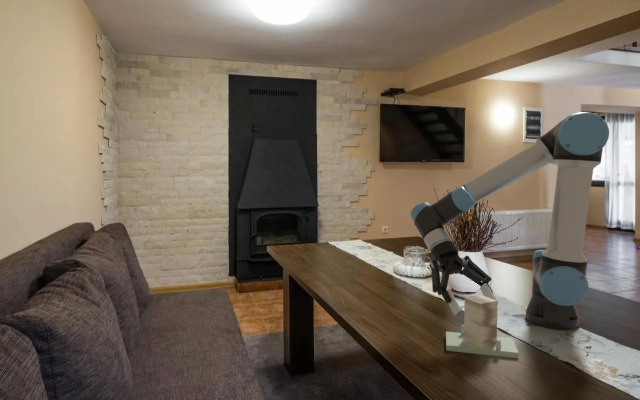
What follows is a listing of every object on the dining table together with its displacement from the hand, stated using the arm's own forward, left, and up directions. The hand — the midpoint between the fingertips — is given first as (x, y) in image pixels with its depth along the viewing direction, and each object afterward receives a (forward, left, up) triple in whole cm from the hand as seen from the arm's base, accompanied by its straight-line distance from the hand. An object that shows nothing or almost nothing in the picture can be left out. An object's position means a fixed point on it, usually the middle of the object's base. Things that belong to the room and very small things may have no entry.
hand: (476, 309), depth 116 cm
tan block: (-1, 0, -9) cm, 9 cm away
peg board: (-1, 0, -10) cm, 11 cm away
